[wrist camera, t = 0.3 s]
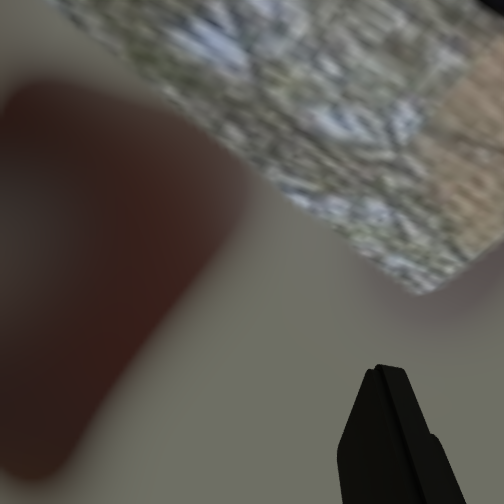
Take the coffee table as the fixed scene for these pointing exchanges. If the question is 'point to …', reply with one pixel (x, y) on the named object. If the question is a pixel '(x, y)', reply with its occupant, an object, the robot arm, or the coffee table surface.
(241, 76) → the coffee table surface
